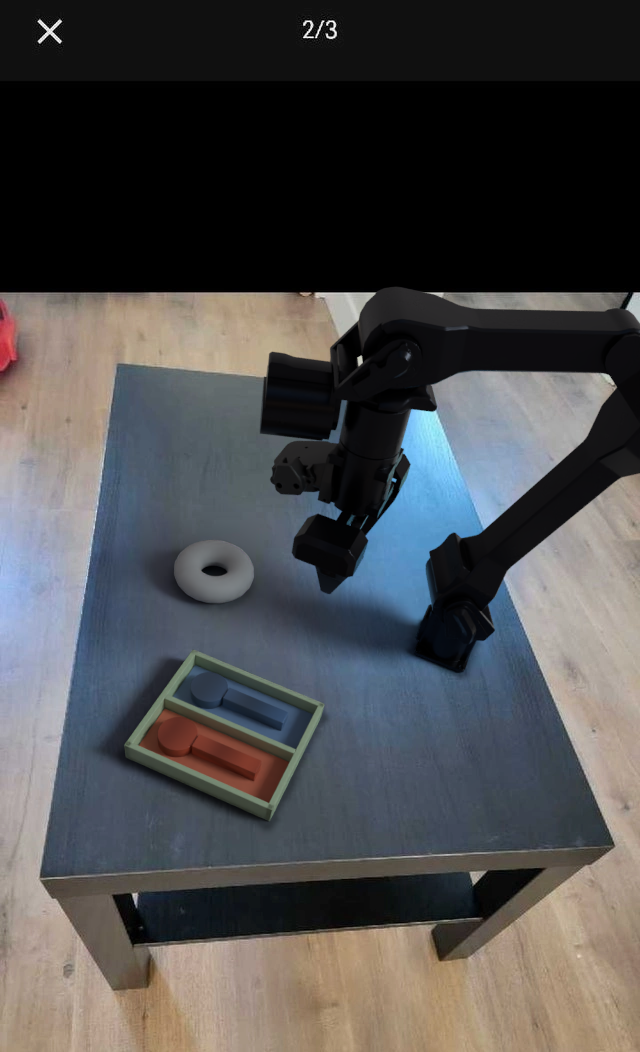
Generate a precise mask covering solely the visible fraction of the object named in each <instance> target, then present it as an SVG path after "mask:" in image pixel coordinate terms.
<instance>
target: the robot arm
mask: <svg viewBox="0 0 640 1052" xmlns="http://www.w3.org/2000/svg"><path fill="white" fill-rule="evenodd" d="M329 357H330V358H329V360H320V359H313V358H305V357H299V356H298V357H297V356H293V355H290V354H288V353H285V352H278V351H270V352H269V353H268V360H267V367H266V376H263V383H262V391H261V392H262V393H261V406H260V419H259V420H260V421H259V434H260V435H269V436H278V437H286V438H294V439H301V440H294V441H290V442H289V443H287V444H286V445H285V446H284V447H283V449H282V450H281V451H280V452H279V453H278V455H276V457H275V458H274V460H273V466H271V471H272V472H271V473H272V474H271V477H270V478H269V481H270V483H271V484H272V485H273V486H274V488H275V490H276V492H277V493H279V494H280V495H284V496H285V495H286V496H287V495H288V496H301V495H302V494H303V493H318V495H317V501H319V502H321V503H325V504H327V505H330V504H331V503H333V506H334V507H335V509H338V511H341V512H340V513H339V515H338V517H337V519H334V518H331V517H329V516H326V515H323V514H321V513H316V514H312V515H311V516H308V517H307V518H306V520H305V521H304V522H303V524H302V525H301V527H300V528H299V530H298V531H297V532H296V534H295V535H294V538H293V542H292V547H291V548H292V549H291V555H292V556H293V558H294V559H296V560H298V561H301V562H304V563H306V564H308V565H310V566H314V568H315V572H316V576H317V580H318V581H317V582H318V585H319V590H320V592H322V593H324V594H326V595H331V594H332V593H334V591H335V590H336V589H337V588H338V587H340V585H341V584H343V583H344V582H345V581H346V580H347V579H348V578H350V577H351V578H352V577H354V575H355V573H356V572H357V570H358V568H359V566H360V564H361V562H362V561H363V559H364V555H365V553H366V550H367V548H368V544H369V539H368V538H367V535H368V534H369V533H370V531H372V529H373V528H374V527H375V526H376V524H377V523H378V522H379V520H380V519H381V518H382V516H383V515H384V514H385V513H386V512H387V510H388V509H389V508H390V507H391V506H392V504H393V503H394V502H395V500H396V499H397V497H398V495H399V493H400V491H401V489H402V488H403V486H404V484H405V482H406V480H407V478H408V476H409V472H410V468H411V465H412V463H411V462H410V461H409V459H408V457H407V455H406V453H404V451H405V448H403V447H402V445H403V442H404V437H405V434H406V431H407V427H408V424H409V420H410V417H411V414H412V411H413V410H414V411H420V412H421V411H422V412H430V413H434V412H435V411H436V410H437V409H438V404H437V400H436V396H435V393H434V389H433V385H436V384H438V383H441V382H443V381H445V380H447V379H450V378H452V377H454V376H456V375H458V374H463V373H469V372H470V373H471V372H496V373H497V372H498V373H499V372H500V373H501V372H503V373H554V374H555V373H556V374H557V373H559V374H566V373H567V374H603V375H607V376H609V377H610V379H611V381H612V382H613V383H614V385H615V387H616V388H615V389H614V390H613V391H612V393H611V394H610V395H609V396H608V397H607V398H606V400H605V401H604V402H603V403H602V405H601V406H600V408H599V410H598V413H597V415H596V417H595V418H594V420H593V423H592V425H591V427H590V429H589V430H588V431H589V432H588V433H587V436H586V437H585V438H584V440H583V441H582V442H580V444H579V445H577V446H576V447H575V448H574V449H573V450H572V451H571V452H570V453H568V454H567V455H566V456H565V457H564V458H562V460H561V461H560V462H558V463H557V464H555V466H554V467H553V468H552V469H551V470H549V471H548V472H547V473H545V475H544V476H542V478H540V479H539V480H538V481H537V482H536V483H535V484H534V485H532V486H531V487H530V488H529V489H528V490H527V491H526V492H525V493H523V494H522V495H521V496H520V497H519V498H518V499H517V500H516V501H515V502H514V503H512V504H511V505H510V506H509V507H508V508H507V509H506V510H505V511H503V512H502V513H501V514H500V515H499V516H498V517H497V518H496V519H495V520H493V521H492V522H491V523H490V524H489V525H487V527H486V528H484V529H483V530H482V531H481V532H479V533H478V534H475V535H470V536H465V537H461V536H460V535H459V534H457V532H451V533H450V534H448V536H447V537H446V538H445V539H444V541H443V542H441V544H439V545H438V546H437V547H435V548H433V549H431V550H429V551H428V553H429V558H428V560H427V561H426V563H425V577H426V582H427V587H428V592H429V594H428V595H429V599H430V603H429V604H428V605H427V608H426V610H425V613H424V615H423V618H422V620H421V622H420V625H419V628H418V631H417V633H416V635H415V640H416V641H417V642H416V645H415V648H414V650H413V653H414V655H416V656H417V657H420V658H423V659H425V660H428V661H431V662H432V663H435V664H438V665H440V666H442V667H446V668H447V669H450V670H453V671H455V672H458V673H464V672H465V670H466V668H467V666H468V662H469V659H470V656H471V654H472V651H473V649H474V647H475V645H476V643H477V642H484V641H486V640H487V639H488V638H490V636H491V635H492V634H494V632H496V628H495V625H494V621H493V617H492V613H491V610H490V606H489V604H490V603H492V602H493V600H495V598H496V596H497V594H498V592H499V590H500V587H501V586H502V584H503V582H504V579H505V577H506V575H507V573H508V571H509V570H510V569H511V568H512V567H513V566H514V565H516V564H517V563H518V562H519V561H521V560H522V559H523V558H524V557H525V556H527V555H528V554H529V553H531V552H532V551H533V550H534V549H536V548H537V546H539V545H540V544H541V543H542V542H544V541H545V540H546V539H547V538H549V537H550V536H551V535H552V534H554V533H555V532H556V531H557V530H558V529H559V528H561V527H562V526H564V524H566V523H567V522H568V521H570V520H571V519H572V518H573V517H575V515H577V514H578V513H579V512H581V511H582V510H583V509H584V508H585V507H586V506H588V505H590V504H591V502H592V501H594V500H595V499H596V498H598V497H599V496H600V495H601V494H602V493H604V492H605V491H606V490H608V488H610V487H611V486H612V485H613V484H615V483H616V482H618V480H620V479H622V478H625V477H630V476H634V475H639V474H640V321H639V320H638V318H637V317H636V316H635V314H633V313H632V312H631V311H630V310H629V309H626V308H625V309H624V308H619V307H614V308H608V309H606V310H603V311H602V310H563V309H562V310H558V309H556V310H554V309H515V308H513V309H511V308H510V309H509V308H508V309H507V308H474V307H468V306H465V305H460V304H458V303H455V302H453V301H451V300H448V299H446V298H444V297H441V296H439V295H437V294H433V293H430V292H425V291H420V290H415V289H412V288H411V289H410V288H406V287H401V286H391V287H384V288H381V289H380V290H377V291H376V292H375V294H373V296H372V297H370V298H369V299H368V300H367V301H366V302H365V304H364V306H363V307H362V309H361V311H360V312H359V316H358V320H356V321H355V323H354V324H353V325H352V326H351V327H350V328H349V329H347V331H345V332H344V333H343V335H341V336H340V337H339V338H338V339H337V340H336V341H335V342H334V343H333V344H332V345H331V346H330V347H329ZM359 357H361V359H362V363H360V364H359V359H358V358H359ZM342 401H346V402H345V403H346V404H345V408H344V413H343V417H342V422H341V428H340V433H339V438H338V442H331V441H328V440H330V437H331V434H332V431H337V428H338V425H339V422H340V421H339V419H340V414H341V406H342ZM302 439H304V440H302ZM326 440H327V441H326ZM394 480H395V481H394Z"/></svg>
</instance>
